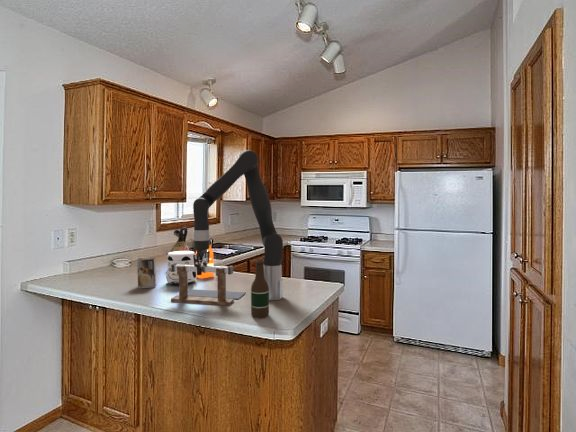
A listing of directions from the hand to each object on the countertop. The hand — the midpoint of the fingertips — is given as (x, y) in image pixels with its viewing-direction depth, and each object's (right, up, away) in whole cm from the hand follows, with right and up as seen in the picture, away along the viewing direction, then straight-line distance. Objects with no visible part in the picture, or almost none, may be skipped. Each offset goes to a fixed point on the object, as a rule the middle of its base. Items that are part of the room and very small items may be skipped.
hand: (202, 273), depth 178 cm
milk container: (-21, -12, +39) cm, 46 cm away
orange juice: (-11, -11, +56) cm, 58 cm away
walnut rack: (0, -14, +1) cm, 14 cm away
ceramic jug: (-31, -10, +73) cm, 80 cm away
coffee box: (-38, -12, +30) cm, 50 cm away
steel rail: (0, +1, 0) cm, 1 cm away
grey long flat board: (+3, -13, +14) cm, 19 cm away
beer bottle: (+30, -15, -19) cm, 39 cm away
